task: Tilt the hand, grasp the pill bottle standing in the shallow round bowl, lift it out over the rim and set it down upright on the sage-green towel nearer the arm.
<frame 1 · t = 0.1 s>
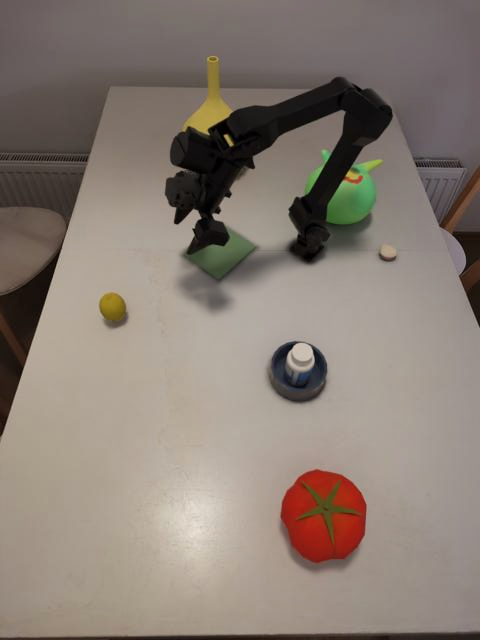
hand: (181, 238, 90), 15 cm above the table, tool tilted 35°, fingers open, 9 cm apart
toy bird: (334, 213, 116), on the table
towel: (219, 251, 108), on the table
tomato: (315, 519, 75), on the table
macaroon: (385, 254, 109), on the table
shallow round bowl: (296, 375, 89), on the table
lemon: (117, 317, 97), on the table
vase: (216, 166, 126), on the table
pill bottle: (296, 375, 89), resting on shallow round bowl
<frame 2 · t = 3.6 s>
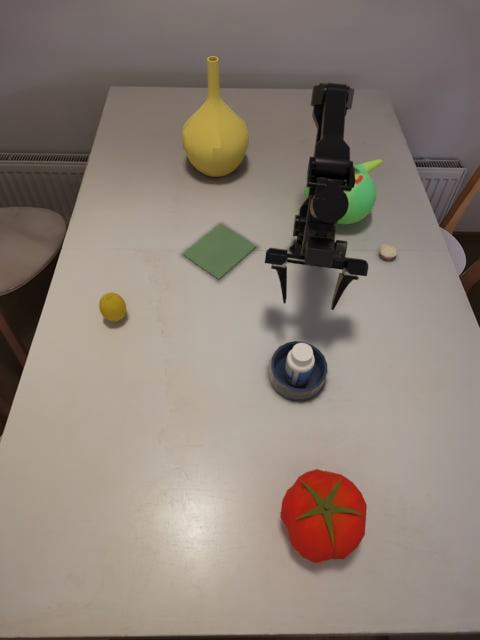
hand: (308, 306, 83), 14 cm above the table, tool tilted 45°, fingers open, 9 cm apart
nothing on the table moved.
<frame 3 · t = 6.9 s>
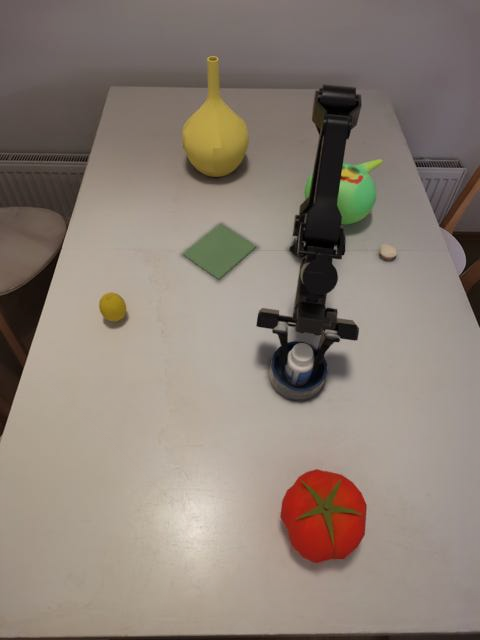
hand: (299, 366, 83), 7 cm above the table, tool tilted 45°, fingers closed on pill bottle, 5 cm apart
pill bottle: (296, 375, 89), resting on shallow round bowl, touching gripper
everything else where it was.
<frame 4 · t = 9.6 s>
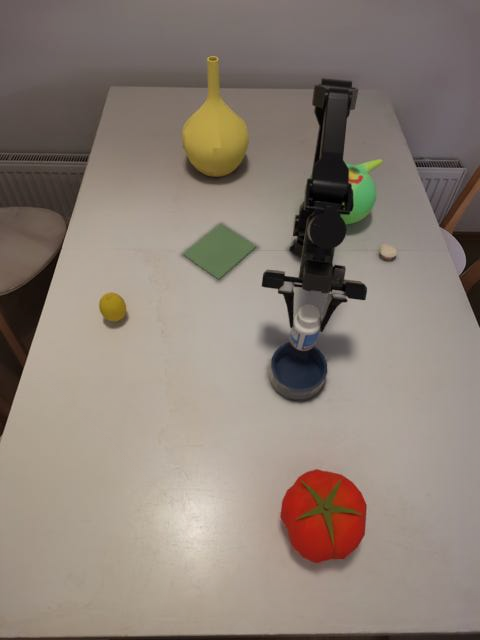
hand: (306, 329, 81), 12 cm above the table, tool tilted 45°, fingers closed on pill bottle, 5 cm apart
pill bottle: (302, 340, 87), point 6 cm above the table, touching gripper
everything else where it was.
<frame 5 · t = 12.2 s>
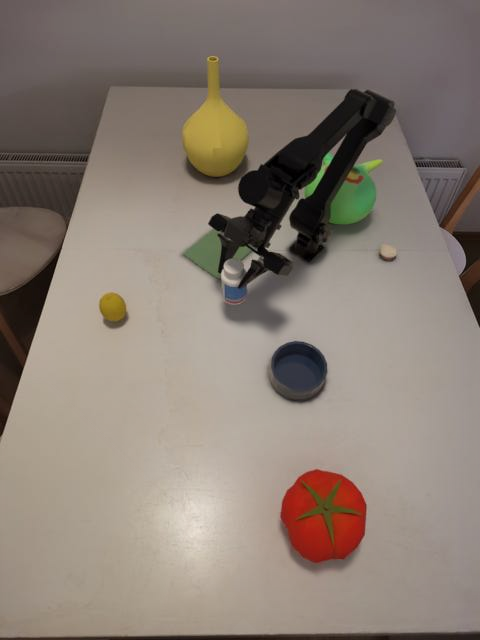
hand: (229, 280, 87), 12 cm above the table, tool tilted 45°, fingers closed on pill bottle, 5 cm apart
pill bottle: (234, 295, 93), point 6 cm above the table, touching gripper
everything else where it was.
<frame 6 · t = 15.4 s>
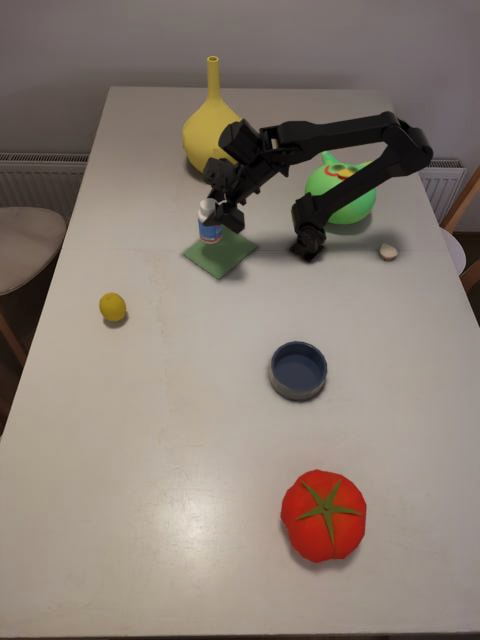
hand: (203, 216, 97), 12 cm above the table, tool tilted 45°, fingers closed on pill bottle, 5 cm apart
pill bottle: (211, 236, 103), point 6 cm above the table, touching gripper
everything else where it was.
when the fingers open (7 cm above the table, at t = 17.8 s): pill bottle stays where it is, resting on towel.
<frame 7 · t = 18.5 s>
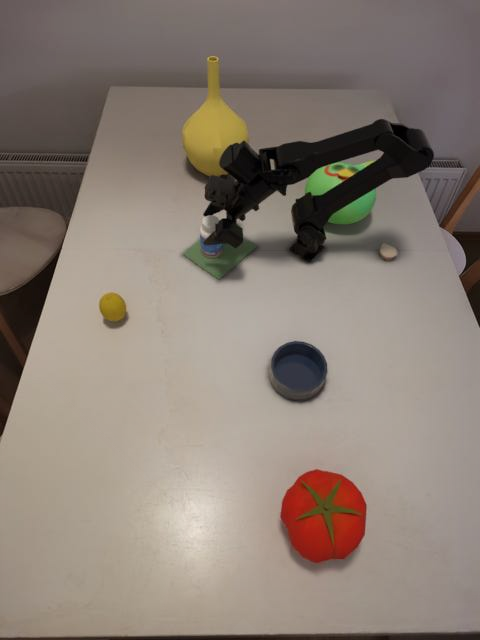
hand: (204, 229, 101), 8 cm above the table, tool tilted 45°, fingers open, 9 cm apart
pill bottle: (212, 250, 108), resting on towel
everything else where it was.
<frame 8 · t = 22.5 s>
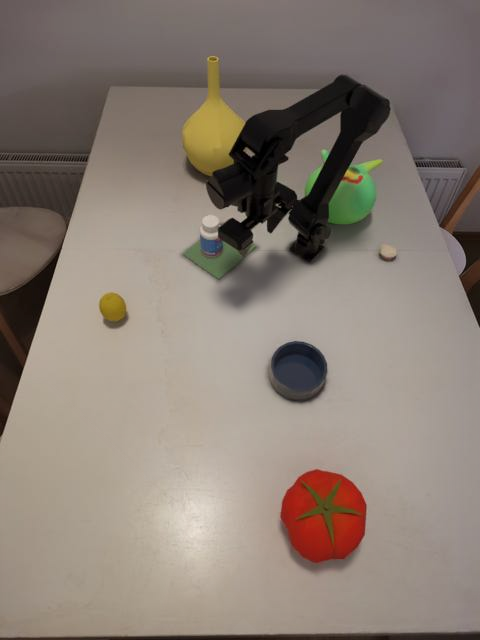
hand: (256, 243, 93), 12 cm above the table, tool pointing down, fingers open, 9 cm apart
nothing on the table moved.
at the end: pill bottle inside the target area on the towel (1.9 cm from its centre), point 0.3 cm above the towel's base; pill bottle tilted 0°; the gripper is holding nothing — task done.
